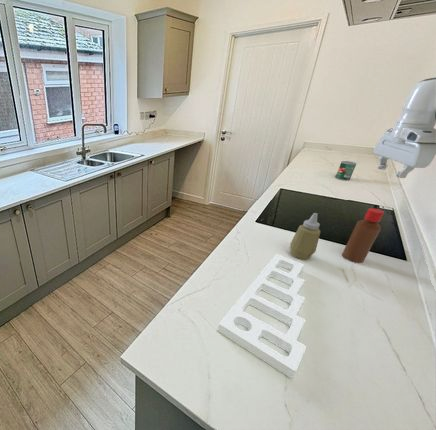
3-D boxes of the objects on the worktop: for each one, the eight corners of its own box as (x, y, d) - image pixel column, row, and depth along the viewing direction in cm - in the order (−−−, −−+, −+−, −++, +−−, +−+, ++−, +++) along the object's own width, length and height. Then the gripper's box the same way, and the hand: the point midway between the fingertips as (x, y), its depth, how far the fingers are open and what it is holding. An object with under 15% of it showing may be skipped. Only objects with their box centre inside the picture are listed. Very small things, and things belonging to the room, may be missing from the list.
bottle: (360, 255, 100) (383, 210, 91) (366, 264, 95) (391, 218, 86) (339, 251, 103) (360, 207, 94) (344, 260, 97) (366, 214, 89)
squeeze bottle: (290, 259, 98) (306, 217, 90) (284, 247, 105) (299, 207, 97) (315, 263, 96) (334, 220, 88) (308, 251, 103) (324, 210, 94)
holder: (274, 259, 98) (276, 253, 97) (333, 283, 86) (336, 276, 85) (216, 330, 70) (218, 323, 69) (292, 379, 59) (295, 371, 58)
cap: (365, 220, 90) (370, 211, 89) (362, 216, 94) (366, 207, 92) (381, 223, 89) (386, 214, 87) (377, 218, 92) (381, 209, 90)
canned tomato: (332, 177, 180) (338, 161, 175) (340, 176, 182) (346, 160, 177) (344, 181, 173) (351, 164, 168) (352, 179, 175) (359, 163, 170)
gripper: (377, 127, 95) (361, 164, 101) (424, 137, 77) (401, 182, 83) (398, 127, 94) (380, 165, 100) (450, 138, 76) (425, 183, 82)
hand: (390, 173), depth 92 cm, fingers open, 8 cm apart
